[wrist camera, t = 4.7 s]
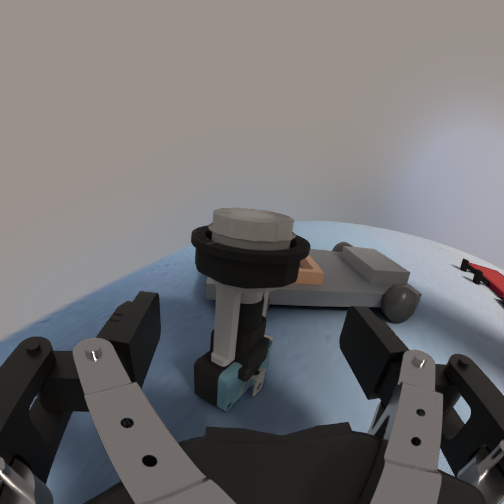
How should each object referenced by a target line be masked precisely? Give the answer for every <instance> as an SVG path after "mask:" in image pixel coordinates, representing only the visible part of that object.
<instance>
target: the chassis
mask: <svg viewBox="0 0 504 504" xmlns="http://www.w3.org/2000/svg"><path fill="white" fill-rule="evenodd" d="M409 275H410V272H409V271H407V270H406V269H404V268H403V267H401V266H400V265H398V264H397V263H395V262H394V261H392V260H391V259H389V258H388V257H386V256H385V255H383V254H381V253H380V252H378V251H377V250H375V249H367V248H358V247H353V246H351V245H350V244H349V243H346V242H341V243H339V244H337V245H336V246H335V247H334V248H333V250H332V251H326V250H315V249H310V252H309V256H308V257H307V258H305V259H303V260H301V261H300V267H299V272H298V278H297V281H296V282H295V283H292V284H290V285H287V286H285V287H281V288H279V289H276V290H273V291H270V292H269V296H268V303H267V310H266V312H267V311H268V309H269V306H270V304H279V305H300V306H329V307H351V306H367V307H381V310H382V312H383V313H384V314H385V315H386V316H387V317H388V318H389V320H390V321H391V322H393V323H401V322H404V321H406V320H407V319H408V318H409V317H410V316H411V315H412V314H413V313H414V311H415V309H416V307H418V304H419V301H420V298H421V295H422V294H421V293H420V292H418V291H417V290H416V289H414V288H413V287H412V286H410V285H409V284H408V283H407V282H408V278H409ZM205 299H208V300H216V287H215V284H214V283H213V281H212V279H211V278H210V277H208V276H207V280H206V289H205Z"/></svg>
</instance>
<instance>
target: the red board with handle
mask: <svg viewBox="0 0 504 504" xmlns="http://www.w3.org/2000/svg"><path fill="white" fill-rule="evenodd" d="M460 269H461V270H462V271H464V272H466V270H467V269H468V270H470V271H471V272H473V273H474V274H475V275H474V278H473V282H474V283H475V284H478V285H479V284H480V281H482V282H484V283H485V284H486V285H488V286H489V287H490V288H491V289H492V290H493V291H494V292H496V293H497V294H498V295H499V296H498V297H499V298H500V299H502V300H503V301H504V276H503V275H502V274H501V273H499V272H498V271H495V270H492V269H489V268H486V267H482V266H479V265H476V264H472V263H469V261H468V260H466V259H463V260H462V264H461V268H460Z"/></svg>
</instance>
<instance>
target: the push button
mask: <svg viewBox="0 0 504 504" xmlns="http://www.w3.org/2000/svg"><path fill="white" fill-rule="evenodd" d="M293 223H294V219H292V218H290V217H289V216H286V215H283V214H279V213H274V212H269V211H263V210H255V209H244V208H222V209H217V210H214V214H213V223H211V224H210V225H208V226H203V227H199V228H197V229H195V230H193V231H192V236H191V243H192V245H193V246H194V247H195V248H196V255H195V264H196V267H197V270H198V271H199V272H200V273H202V274H204V275H206V276H208V277H210V278H211V279H212V281H213V283H214V284H215V287H216V307H215V326H214V330H213V331H212V333H211V346H210V351H209V352H207V353H206V354H204V355H203V356H202V357H200V358H199V359H197V361H196V362H195V364H194V383H195V394H197V395H198V396H200V397H202V398H203V399H205V400H207V401H208V402H210V403H212V404H213V405H215V406H217V407H219V408H221V409H222V410H224V411H228V410H229V409H230V408H231V407H232V405H233V404H234V403H235V402H236V401H237V400H238V399H239V398H240V397H241V396H242V395H243V394H244V393H245V392H246V391H247V390H248V389H249V388H250V387H251V386H252V385H253V384H254V387H253V393H252V396H255V395H256V394H257V393H258V392H259V391H260V390H261V388H262V386H263V382H264V376H265V374H264V373H265V371H266V368H267V364H268V359H269V353H270V351H271V350H272V349H271V345H272V340H273V339H274V338H273V337H271V336H268V335H266V334H264V333H265V327H266V318H265V316H266V310H267V303H268V296H269V292H270V291H273V290H276V289H279V288H281V287H285V286H287V285H290V284H292V283H295V282H296V281H297V278H298V272H299V267H300V261H301V260H303V259H305V258H307V257H308V256H309V252H310V243H309V242H308V241H307V240H305V239H304V238H302V237H300V236H297V235H295V234H294V233H293V232H292V230H293ZM259 383H260V385H259ZM258 385H259V387H258ZM257 387H258V389H257Z"/></svg>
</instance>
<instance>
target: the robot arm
mask: <svg viewBox="0 0 504 504" xmlns="http://www.w3.org/2000/svg"><path fill="white" fill-rule="evenodd" d="M160 333H161V322H160V303H159V294H158V293H152V292H144V291H140V292H139V293H138V295H137V296H136V298H135V299H134V301H133V302H130V301H127V302H125V303H124V304H122V305H120V306H118V308H117V309H116V310H115V312H114V313H113V315H112V316H111V317H110V319H109V320H108V321H107V323H106V324H105V325H104V327H103V328H102V330H101V331H100V332H99V334H98V335H97V337H96V338H88V339H85V340H82V341H80V342H79V343H77V344H76V345H75V347H74V349H73V351H53V348H52V345H51V343H50V341H49V340H48V339H46V338H43V337H30V338H27V339H25V340H24V341H22V342H21V343H20V344H19V345H18V346H17V347H16V349H15V350H14V351H13V352H12V353H11V355H10V356H9V357H8V358H7V360H6V361H5V362H4V363H3V365H2V366H1V367H0V504H53V497H52V494H51V491H50V490H49V488H48V487H47V486H46V482H47V478H48V475H49V472H50V469H51V466H52V463H53V460H54V458H55V455H56V452H57V449H58V447H59V444H60V441H61V439H62V436H63V434H64V431H65V429H66V426H67V424H68V421H69V419H70V417H71V414H72V412H73V411H81V412H90V414H91V416H92V419H93V422H94V424H95V427H96V429H97V431H98V434H99V436H100V438H101V441H102V443H103V445H104V447H105V449H106V452H107V454H108V456H109V458H110V460H111V462H112V464H113V466H114V468H115V470H116V471H117V473H118V475H119V477H120V479H121V481H120V482H118V483H117V484H115V485H114V486H112V487H110V488H109V489H107V490H106V491H104V492H102V493H101V494H99V495H97V496H96V497H94V498H92V499H90V500H89V501H87V502H85V503H83V504H501V503H502V502H504V396H503V394H502V393H501V392H500V391H499V390H498V389H497V387H496V386H495V385H494V384H493V383H492V382H491V380H490V379H489V378H488V377H487V376H486V375H485V374H484V373H483V371H482V370H481V369H480V368H479V367H478V366H477V365H476V364H475V363H474V362H473V361H472V360H471V359H470V358H468V357H467V356H464V355H461V354H454V355H452V356H451V357H450V359H449V361H448V363H447V364H446V365H441V364H435V362H434V360H433V359H432V357H431V356H429V355H428V354H426V353H424V352H422V351H419V350H409V349H408V348H407V347H406V345H405V344H404V343H403V342H402V341H401V340H400V339H399V337H398V336H397V335H395V333H394V332H393V331H392V330H391V328H390V327H389V326H388V325H387V324H386V323H385V322H384V321H382V320H381V319H379V318H378V317H376V316H375V314H374V313H373V312H372V311H371V310H370V309H369V308H368V307H367V306H351V307H349V309H348V311H347V315H346V318H345V322H344V325H343V328H342V332H341V335H340V341H339V343H340V349H341V351H342V353H343V355H344V356H345V358H346V360H347V362H348V364H349V365H350V367H351V369H352V371H353V373H354V375H355V377H356V378H357V380H358V382H359V384H360V386H361V388H362V390H363V391H364V393H365V395H366V397H367V399H368V400H370V399H376V398H380V399H381V401H380V402H379V404H378V406H377V409H376V412H375V415H374V418H373V420H372V423H371V426H370V429H369V431H368V434H367V433H363V432H356V431H352V430H351V427H350V425H349V422H344V423H337V424H329V425H320V426H315V427H312V428H308V429H305V430H302V431H298V432H295V433H291V434H288V435H275V434H269V433H263V432H258V431H253V430H248V429H240V428H218V427H206V436H205V437H197V438H193V439H189V440H185V441H182V442H180V443H177V442H176V440H175V439H174V438H173V436H172V435H171V434H170V432H169V431H168V429H167V428H166V427H165V425H164V424H163V422H162V421H161V419H160V418H159V416H158V415H157V413H156V412H155V410H154V409H153V407H152V406H151V404H150V403H149V401H148V399H147V398H146V396H145V395H144V393H143V391H142V390H141V389H142V386H143V383H144V380H145V377H146V374H147V372H148V369H149V366H150V363H151V361H152V358H153V355H154V353H155V350H156V347H157V345H158V342H159V339H160ZM461 395H462V397H463V398H464V399H465V401H466V402H467V404H468V405H469V406H470V408H471V416H470V418H469V420H468V421H467V422H466V424H464V423H463V421H462V420H461V418H460V417H459V415H458V414H457V412H456V411H455V409H454V408H453V407H454V405H455V404H456V402H457V401H458V399H459V398H460V396H461ZM35 396H37V398H36V400H35V401H34V403H33V405H32V407H31V409H30V411H29V408H30V405H31V403H32V401H33V399H34V398H35ZM440 448H441V450H442V452H443V454H444V456H445V458H446V460H447V462H448V463H449V465H450V467H451V469H452V471H453V473H454V475H455V477H454V476H452V475H450V474H447V473H445V472H443V471H441V470H439V469H437V466H438V459H439V451H440Z"/></svg>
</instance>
